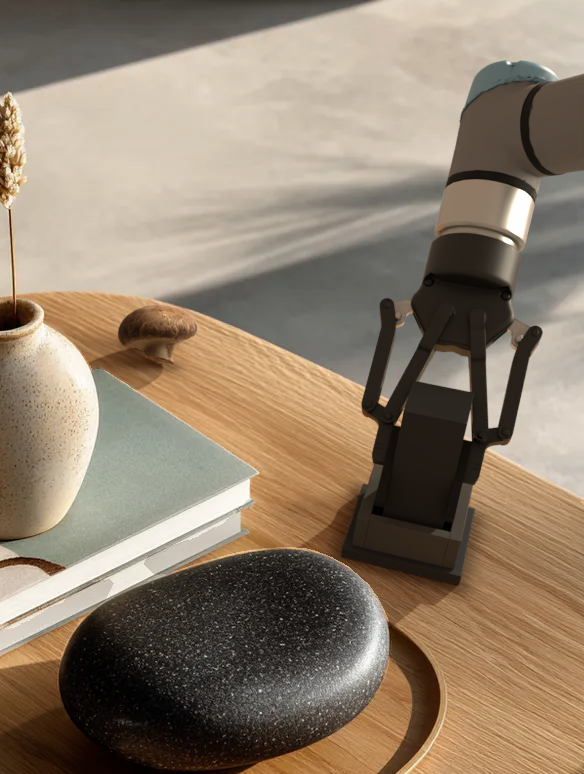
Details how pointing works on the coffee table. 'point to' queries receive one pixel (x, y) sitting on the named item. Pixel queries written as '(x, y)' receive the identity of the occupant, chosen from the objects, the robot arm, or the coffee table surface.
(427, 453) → the dark rectangular block
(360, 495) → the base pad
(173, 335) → the mushroom
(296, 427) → the coffee table surface
